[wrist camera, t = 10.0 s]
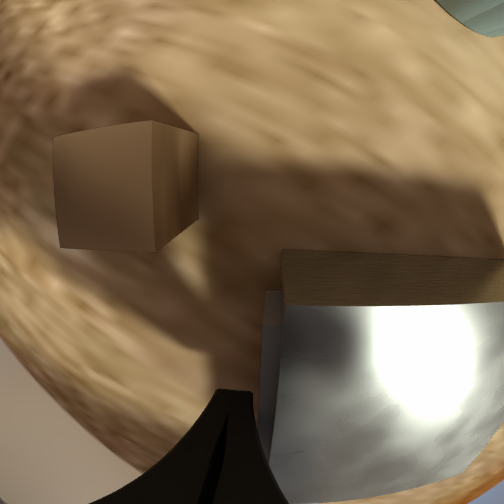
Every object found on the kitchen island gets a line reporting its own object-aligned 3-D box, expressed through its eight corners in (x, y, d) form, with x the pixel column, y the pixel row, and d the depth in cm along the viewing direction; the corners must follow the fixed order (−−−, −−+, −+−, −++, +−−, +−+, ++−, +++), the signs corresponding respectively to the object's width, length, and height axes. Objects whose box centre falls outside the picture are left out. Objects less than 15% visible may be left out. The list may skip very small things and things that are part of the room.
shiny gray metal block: (440, 425, 13) (461, 473, 9) (267, 440, 14) (263, 503, 10) (508, 259, 10) (565, 295, 6) (282, 249, 10) (286, 304, 6)
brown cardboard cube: (198, 218, 10) (155, 252, 7) (124, 218, 11) (60, 247, 7) (198, 134, 9) (152, 120, 6) (122, 140, 10) (53, 137, 6)
